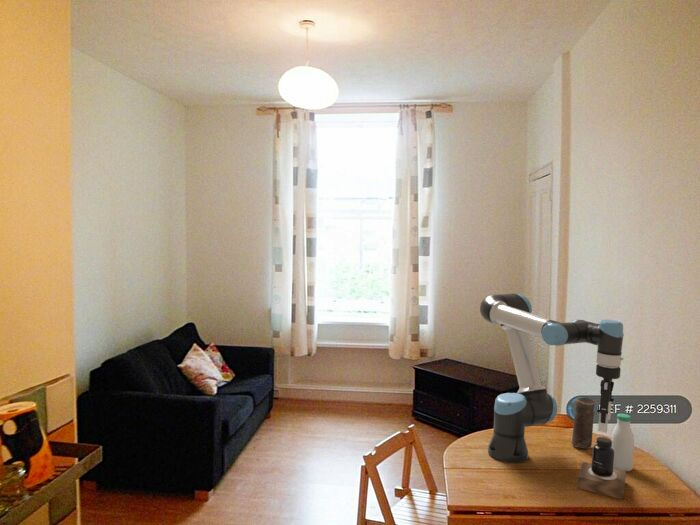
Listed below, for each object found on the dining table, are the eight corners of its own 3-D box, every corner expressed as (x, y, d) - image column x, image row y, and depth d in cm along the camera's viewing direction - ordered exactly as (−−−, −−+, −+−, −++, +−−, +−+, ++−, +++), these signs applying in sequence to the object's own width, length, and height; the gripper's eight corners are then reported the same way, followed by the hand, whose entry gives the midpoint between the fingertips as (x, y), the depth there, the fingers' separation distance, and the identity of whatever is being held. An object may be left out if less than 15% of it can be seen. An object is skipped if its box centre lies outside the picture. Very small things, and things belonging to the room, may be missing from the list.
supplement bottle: (592, 475, 181) (594, 441, 180) (590, 467, 187) (592, 434, 186) (614, 479, 178) (616, 444, 178) (611, 470, 185) (613, 437, 184)
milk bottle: (635, 472, 193) (638, 419, 192) (612, 470, 195) (616, 417, 193) (628, 464, 201) (631, 412, 199) (607, 461, 202) (610, 410, 201)
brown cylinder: (593, 446, 217) (596, 399, 215) (590, 452, 210) (593, 403, 209) (573, 442, 221) (576, 395, 219) (570, 447, 214) (572, 399, 213)
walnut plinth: (577, 487, 180) (578, 475, 180) (582, 472, 192) (582, 460, 192) (623, 499, 173) (623, 486, 173) (625, 482, 185) (625, 470, 185)
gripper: (618, 375, 168) (613, 439, 169) (622, 359, 189) (618, 416, 191) (592, 371, 172) (588, 434, 173) (599, 356, 193) (595, 412, 195)
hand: (604, 425), depth 182 cm, fingers open, 13 cm apart
